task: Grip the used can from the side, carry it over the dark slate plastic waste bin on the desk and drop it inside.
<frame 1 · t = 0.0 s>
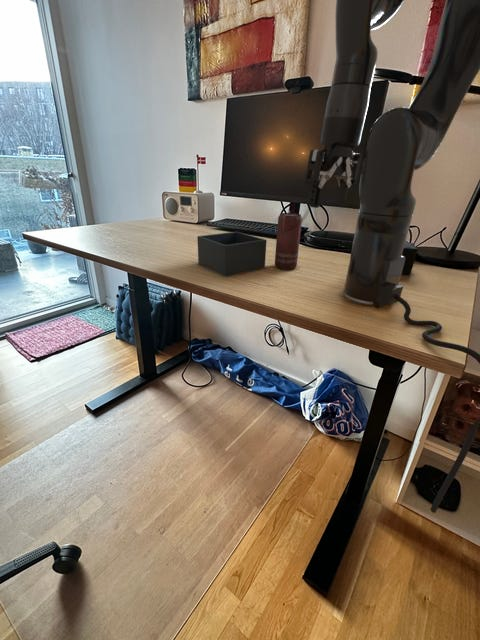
hand: (326, 206, 65), 17 cm above the table, tool pointing down, fingers open, 8 cm apart
bin: (231, 265, 83), on the table
can: (285, 267, 83), on the table
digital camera: (399, 269, 84), on the table
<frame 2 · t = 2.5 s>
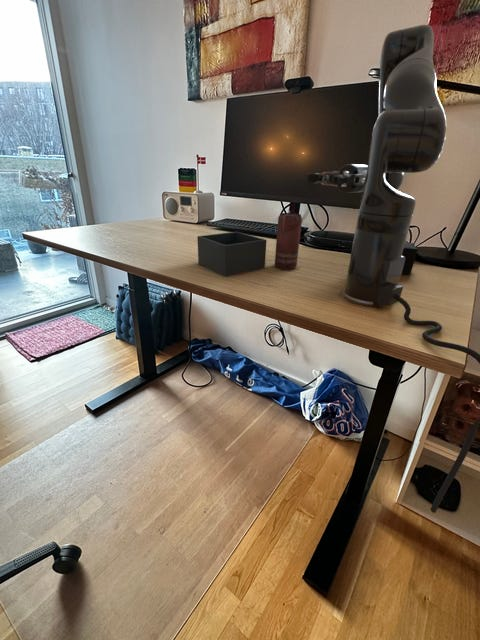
hand: (319, 179, 79), 22 cm above the table, tool horizontal, fingers open, 8 cm apart
nothing on the table moved.
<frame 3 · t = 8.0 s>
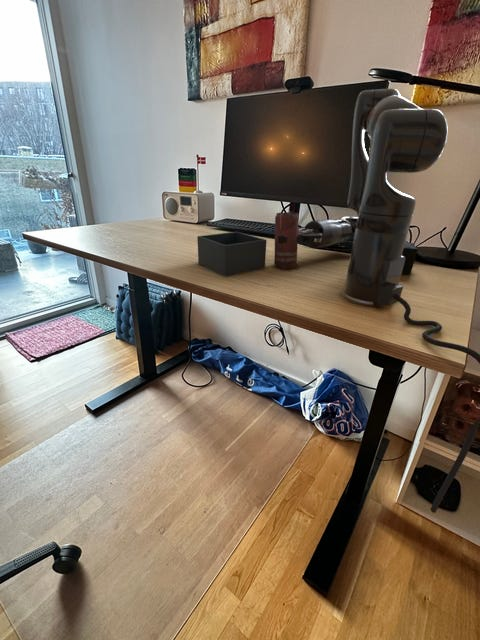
hand: (280, 239, 78), 8 cm above the table, tool horizontal, fingers closed
can: (285, 266, 83), on the table, touching gripper
everything else where it was.
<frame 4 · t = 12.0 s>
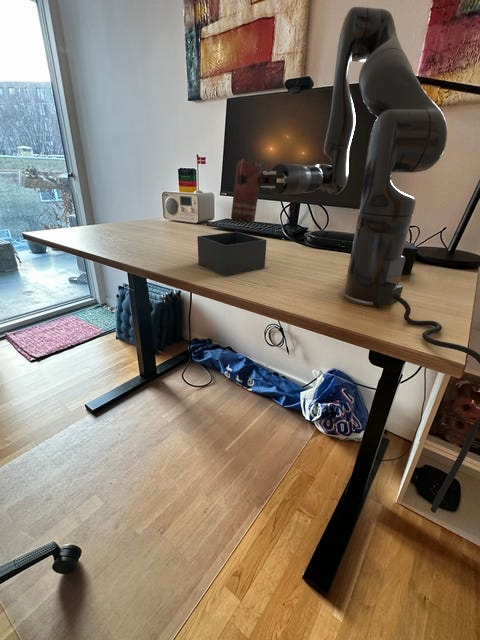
hand: (239, 179, 72), 22 cm above the table, tool horizontal, fingers closed
can: (242, 222, 78), point 12 cm above the table, touching gripper
everything else where it was.
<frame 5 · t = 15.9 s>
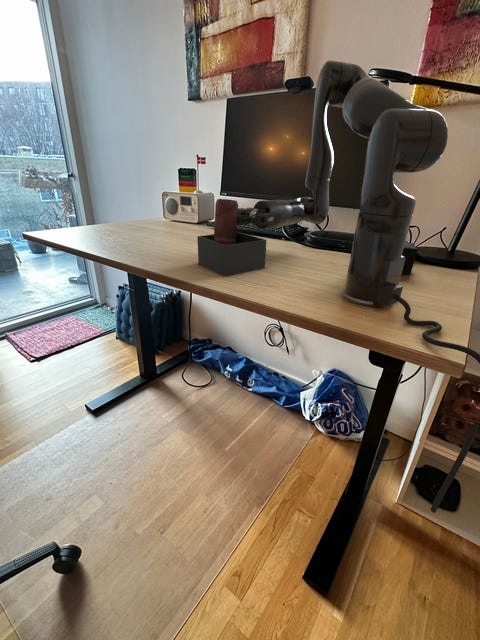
hand: (225, 218, 76), 13 cm above the table, tool horizontal, fingers open, 8 cm apart
can: (223, 254, 83), point 3 cm above the table, touching bin, gripper, hand
everything else where it was.
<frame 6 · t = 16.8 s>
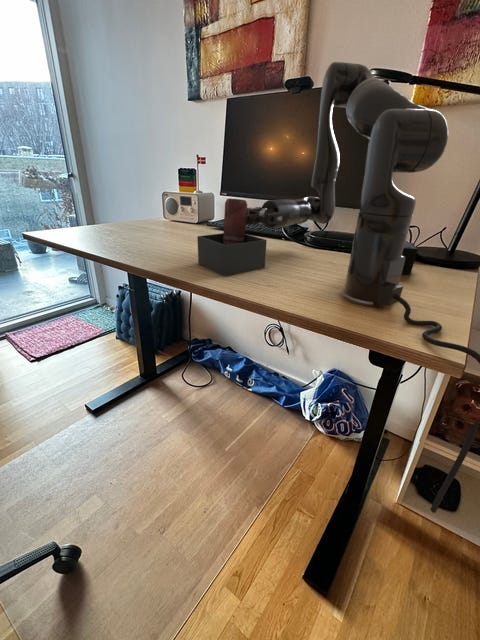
hand: (235, 217, 78), 13 cm above the table, tool horizontal, fingers open, 8 cm apart
can: (232, 253, 85), point 3 cm above the table, touching hand
everything else where it was.
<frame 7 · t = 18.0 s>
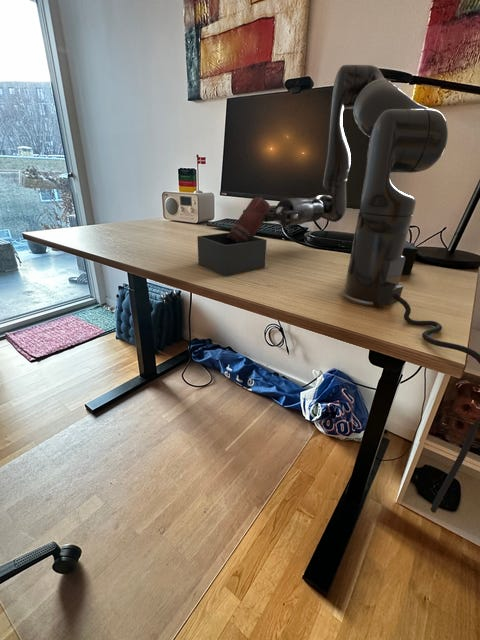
hand: (253, 215, 81), 13 cm above the table, tool horizontal, fingers open, 8 cm apart
can: (234, 243, 84), point 5 cm above the table, touching gripper
everything else where it was.
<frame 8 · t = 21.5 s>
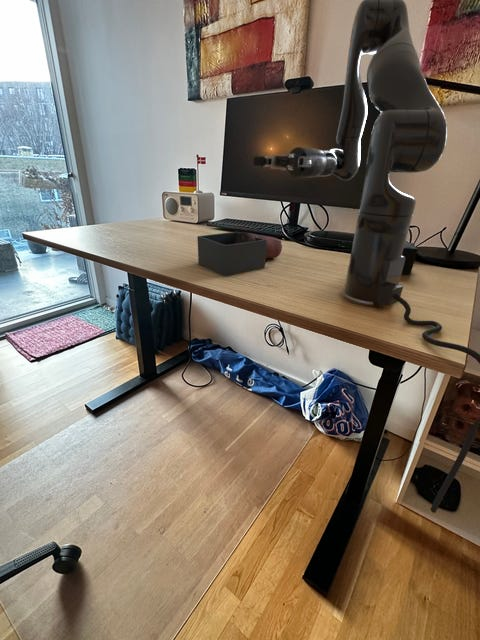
hand: (264, 160, 77), 26 cm above the table, tool horizontal, fingers open, 8 cm apart
can: (240, 243, 81), point 6 cm above the table, touching bin
everything else where it was.
at the end: can inside the target area in the bin (2.8 cm from its centre), point 6.1 cm above the bin's base; the gripper is holding nothing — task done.
